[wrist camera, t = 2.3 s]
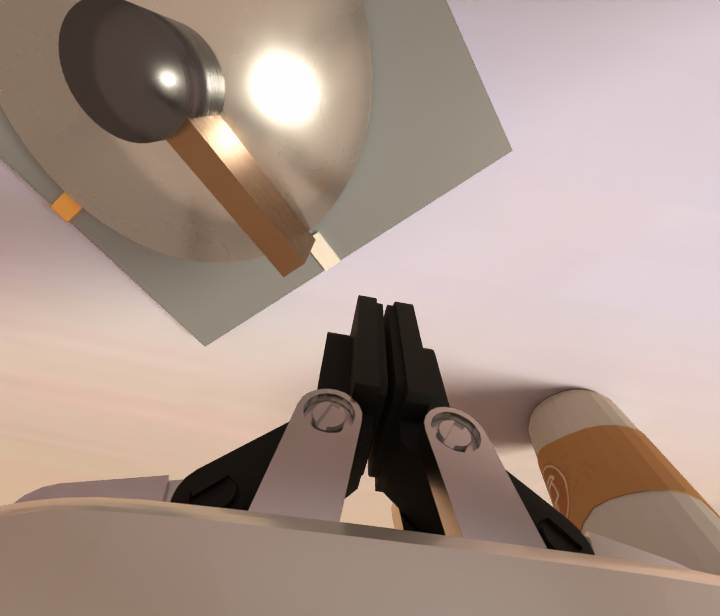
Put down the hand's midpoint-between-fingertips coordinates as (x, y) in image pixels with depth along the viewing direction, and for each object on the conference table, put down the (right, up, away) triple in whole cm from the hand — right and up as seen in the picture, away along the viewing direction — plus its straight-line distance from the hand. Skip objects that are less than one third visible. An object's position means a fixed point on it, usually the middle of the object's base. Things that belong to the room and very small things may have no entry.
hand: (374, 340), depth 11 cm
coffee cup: (+15, -7, +16) cm, 24 cm away
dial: (-8, +11, +5) cm, 14 cm away
